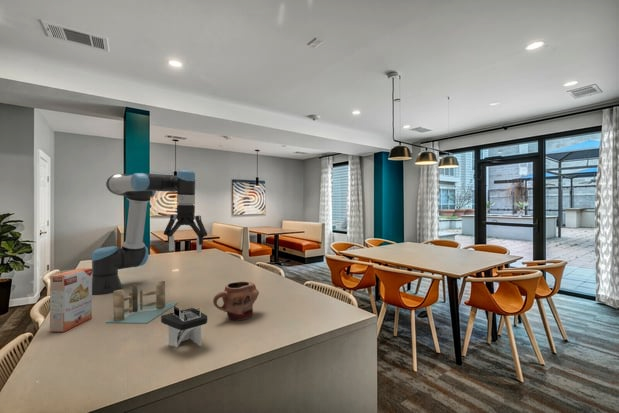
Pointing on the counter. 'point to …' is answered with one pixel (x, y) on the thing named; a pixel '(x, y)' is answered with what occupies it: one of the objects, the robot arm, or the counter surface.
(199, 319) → the black-topped pedestal
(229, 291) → the brown sculpted mug
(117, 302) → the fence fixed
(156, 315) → the card
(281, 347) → the counter surface
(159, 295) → the fence panel
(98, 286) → the robot arm
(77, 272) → the cracker box
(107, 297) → the counter surface
